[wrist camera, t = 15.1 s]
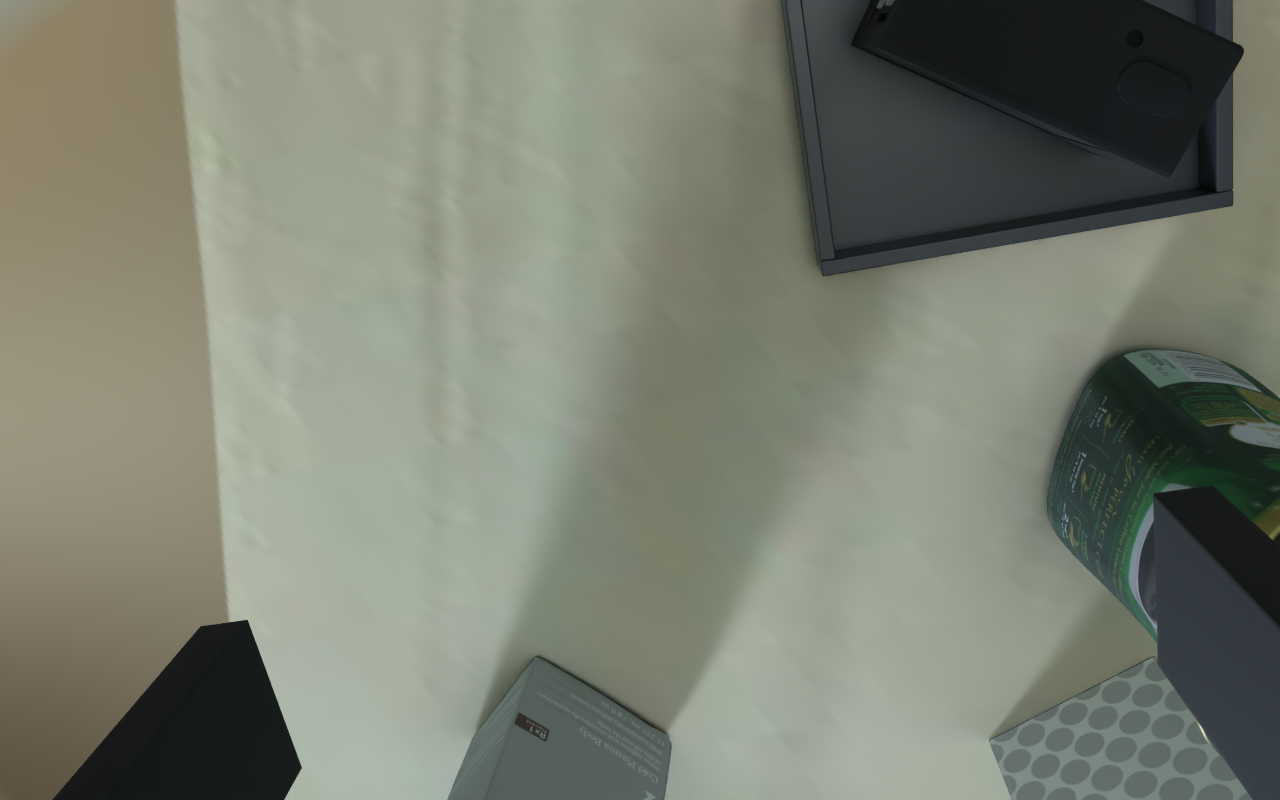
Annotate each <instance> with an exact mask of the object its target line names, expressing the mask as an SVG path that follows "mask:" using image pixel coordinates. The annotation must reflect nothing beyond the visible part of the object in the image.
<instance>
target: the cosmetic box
mask: <svg viewBox="0 0 1280 800" xmlns="http://www.w3.org/2000/svg"><path fill="white" fill-rule="evenodd" d="M671 748H672V744H671V742H670V740H669V736H668V735H666V734H664V733H662V732H661V731H659V730H658V729H654V728H652V727H650V726H649V725H647V724H646V723H645V722H643V721H641V720H640V719H638V718H637V717H635V716H634V715H633V714H631V713H630V712H628V711H626V710H625V709H623V708H622V707H620V706H619V705H617V704H616V703H614V702H613V701H611V700H609V699H608V698H606V697H605V696H603V695H601V694H600V693H598V692H597V691H595V690H593V689H592V688H590V687H588V686H587V685H585V684H584V683H582V682H580V681H579V680H577V679H575V678H574V677H572V676H570V675H568V674H567V673H565V672H563V671H561V670H560V669H558V668H556V667H554V666H553V665H551V664H549V663H548V662H546V661H544V660H542V659H539V658H537V657H536V658H535V659H534V660H533V661H532V662H531V663H530V664H529V666H528V667H527V668H526V669H525V671H524V672H523V673H522V674H521V676H520V677H519V678H518V680H517V681H516V682H515V684H514V685H513V686H512V688H511V689H510V690H509V692H508V693H507V694H506V696H505V697H504V698H503V700H502V701H501V702H500V703H499V705H498V706H497V707H496V708H495V710H494V711H493V712H492V713H491V715H490V716H489V717H488V719H487V720H486V721H485V722H484V724H483V725H482V726H481V728H480V729H479V730H478V731H477V733H476V734H475V735H474V737H473V739H472V741H471V743H470V746H469V748H468V751H467V753H466V755H465V758H464V760H463V762H462V765H461V767H460V770H459V772H458V774H457V777H456V779H455V782H454V784H453V787H452V789H451V792H450V794H449V797H448V799H447V800H664V799H665V792H666V785H667V778H668V771H669V763H670V755H671Z"/></svg>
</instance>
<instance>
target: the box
mask: <svg viewBox="0 0 1280 800" xmlns="http://www.w3.org/2000/svg"><path fill="white" fill-rule="evenodd" d="M989 742H990V744H991V747H992V750H993V752H994V755H995V757H996V760H997V763H998V765H999V768H1000V770H1001V773H1002V775H1003V778H1004V781H1005V783H1006V786H1007V788H1008V791H1009V793H1010V796H1011V799H1012V800H1252V798H1251V797H1250V795H1249V794H1248V793H1247V791H1246V790H1245V788H1244V787H1243V786H1242V784H1241V783H1240V781H1239V780H1238V778H1237V777H1236V776H1235V774H1234V773H1233V771H1232V770H1231V768H1230V767H1229V766H1228V764H1227V763H1226V761H1225V760H1224V759H1223V758H1222V757H1221V756H1220V755H1219V754H1218V753H1217V752H1216V751H1215V750H1214V748H1213V747H1212V746H1211V745H1210V744H1209V743H1208V741H1207V740H1206V739H1205V737H1204V735H1203V734H1202V732H1201V730H1200V728H1199V726H1198V725H1197V723H1196V720H1195V718H1194V716H1193V714H1192V713H1191V711H1190V710H1189V709H1188V707H1187V706H1186V704H1185V703H1184V702H1183V700H1182V699H1181V697H1180V696H1179V694H1178V693H1177V692H1176V690H1175V689H1174V687H1173V686H1172V684H1171V683H1170V682H1169V680H1168V679H1167V677H1166V676H1165V674H1164V673H1163V672H1162V670H1161V669H1160V667H1159V666H1158V662H1157V661H1156V659H1155V658H1154V657H1152V658H1150V659H1148V660H1146V661H1144V662H1142V663H1140V664H1138V665H1136V666H1134V667H1132V668H1130V669H1128V670H1126V671H1124V672H1122V673H1120V674H1118V675H1116V676H1115V677H1113V678H1111V679H1109V680H1107V681H1105V682H1103V683H1101V684H1099V685H1097V686H1095V687H1093V688H1091V689H1089V690H1087V691H1085V692H1083V693H1081V694H1079V695H1077V696H1075V697H1073V698H1071V699H1069V700H1068V701H1066V702H1064V703H1062V704H1060V705H1058V706H1056V707H1054V708H1052V709H1050V710H1048V711H1046V712H1044V713H1042V714H1040V715H1038V716H1036V717H1034V718H1032V719H1030V720H1028V721H1026V722H1024V723H1022V724H1021V725H1019V726H1017V727H1015V728H1013V729H1011V730H1009V731H1007V732H1005V733H1003V734H1001V735H999V736H997V737H995V738H993V739H991V740H989Z"/></svg>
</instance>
